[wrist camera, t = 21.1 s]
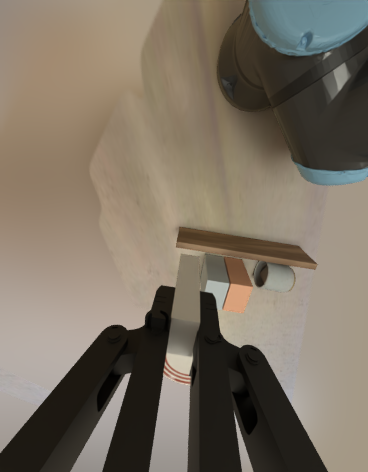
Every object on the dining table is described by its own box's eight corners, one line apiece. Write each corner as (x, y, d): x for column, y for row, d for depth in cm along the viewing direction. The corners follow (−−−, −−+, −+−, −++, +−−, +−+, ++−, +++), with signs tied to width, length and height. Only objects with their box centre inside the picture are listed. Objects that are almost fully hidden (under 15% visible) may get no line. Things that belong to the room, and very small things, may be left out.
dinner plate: (206, 317, 65) (206, 325, 62) (243, 364, 73) (245, 373, 70) (142, 344, 72) (139, 353, 69) (183, 384, 81) (182, 393, 78)
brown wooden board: (179, 226, 52) (176, 241, 44) (298, 246, 52) (317, 264, 44) (179, 231, 52) (175, 247, 44) (296, 250, 52) (314, 269, 44)
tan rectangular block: (224, 256, 55) (231, 283, 44) (241, 259, 55) (253, 287, 44) (218, 279, 58) (222, 309, 47) (234, 282, 58) (243, 313, 47)
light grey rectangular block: (205, 253, 55) (207, 280, 44) (223, 256, 55) (229, 283, 44) (200, 276, 58) (201, 306, 47) (216, 279, 58) (221, 310, 47)
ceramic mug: (277, 282, 57) (289, 300, 50) (250, 276, 57) (258, 293, 50) (294, 251, 53) (309, 266, 46) (265, 244, 52) (275, 258, 45)
